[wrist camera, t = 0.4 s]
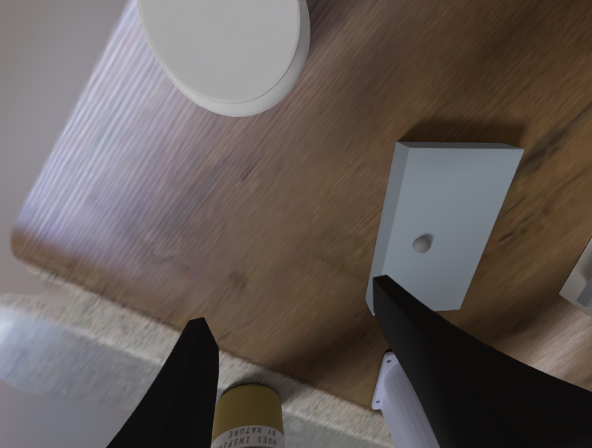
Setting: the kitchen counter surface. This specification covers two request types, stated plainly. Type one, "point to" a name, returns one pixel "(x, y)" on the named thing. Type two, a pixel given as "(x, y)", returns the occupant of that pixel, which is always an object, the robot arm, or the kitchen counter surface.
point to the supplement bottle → (229, 49)
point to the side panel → (580, 283)
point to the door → (440, 217)
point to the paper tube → (248, 419)
